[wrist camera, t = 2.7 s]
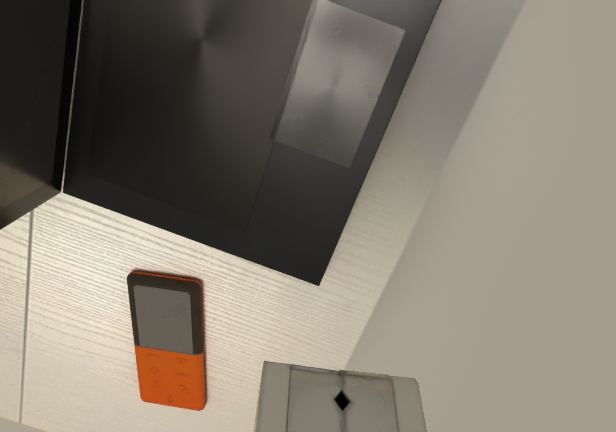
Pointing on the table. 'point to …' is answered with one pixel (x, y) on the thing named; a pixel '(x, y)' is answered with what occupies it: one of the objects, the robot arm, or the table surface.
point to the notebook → (239, 116)
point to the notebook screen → (34, 100)
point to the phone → (168, 339)
